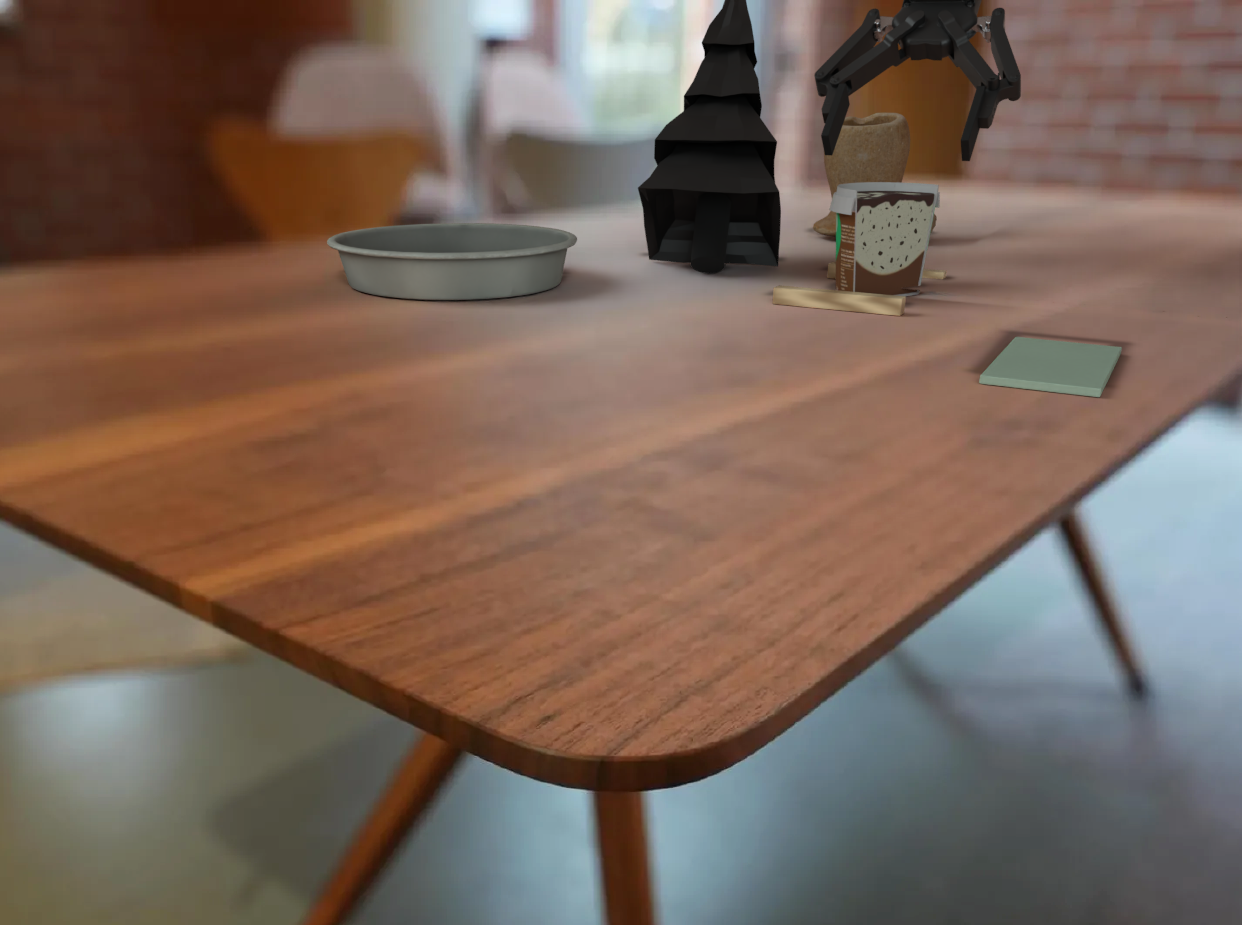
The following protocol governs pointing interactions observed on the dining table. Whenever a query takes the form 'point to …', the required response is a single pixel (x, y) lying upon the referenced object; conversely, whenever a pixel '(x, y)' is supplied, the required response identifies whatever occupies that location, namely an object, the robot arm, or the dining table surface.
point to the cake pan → (453, 260)
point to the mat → (1053, 366)
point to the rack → (846, 297)
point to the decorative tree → (716, 162)
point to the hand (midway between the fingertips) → (894, 148)
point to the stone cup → (867, 157)
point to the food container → (882, 235)
